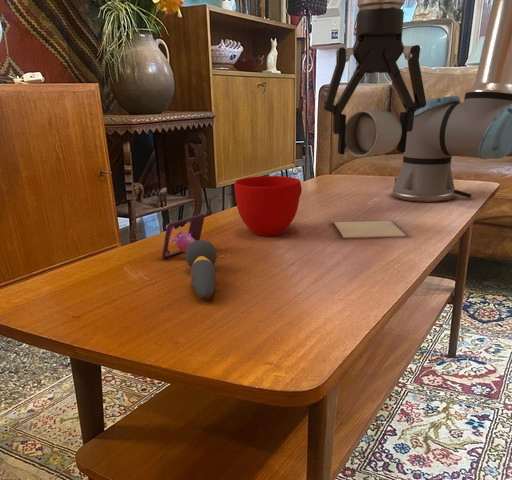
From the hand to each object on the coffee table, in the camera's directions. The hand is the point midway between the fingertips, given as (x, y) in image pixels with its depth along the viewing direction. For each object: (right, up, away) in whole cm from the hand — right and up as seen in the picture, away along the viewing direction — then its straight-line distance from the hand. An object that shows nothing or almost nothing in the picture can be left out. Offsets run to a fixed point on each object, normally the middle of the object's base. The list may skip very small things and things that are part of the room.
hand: (371, 152), depth 94 cm
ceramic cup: (-17, -12, +12) cm, 24 cm away
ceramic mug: (-1, 0, 0) cm, 1 cm away
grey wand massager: (-29, -25, -15) cm, 41 cm away
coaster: (+2, -12, +11) cm, 16 cm away
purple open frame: (-33, -19, -2) cm, 38 cm away
